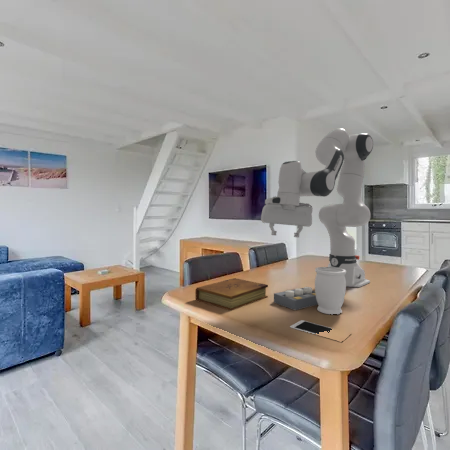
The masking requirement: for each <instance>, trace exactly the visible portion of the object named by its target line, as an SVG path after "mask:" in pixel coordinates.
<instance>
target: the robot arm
mask: <svg viewBox="0 0 450 450" xmlns="http://www.w3.org/2000/svg"><path fill="white" fill-rule="evenodd" d="M373 148H374V139H373V137H372V136H371V135H370V134H369V133H365V132H364V133H359V134H358V133H356V134H355V133H354V134H349V132H347V131H346V130H345V129H344V128H340V127H339V128H338V127H337V128H334V129H332V130H331V131H329V132H328V133H327V134H326V135H325V136H324V137H323V138H322V139H321V140H320V142H319V143H318V145H317V146H316V149H315V158H316V159H317V161H318V162H319V163H320V164H322V165H324V166H325V167H324V168H323V169H322V170H318V171H311V172H306V170H304V169H303V167H302V163H301V161H299V160H292V161H284V162H283V163H282V164H281V166H280V168H279V174H278V182H277V183H278V190H277V196H276V195H275V196H273V197H269V198H266V199H265V200H264V206H263V207H262V211H261V215H260V222H262V223H264V224H269V226H268V227H269V228H270V230H271V232H270V233H271V236H277V230H275V229H274V227H275V225H283V226H284V225H286V226H296V227H297V231H296V232H294V233H293V234H294V235H293V237H294V238H300V234H301V232H302V231H303V229H304V228H303V227H307V228H310V227H311V226H312V224H313V215H312V213H313V206H312V205H311V204H310V203H304V202H300V200H301V197H328V196H329V195H330V194H331V193H332V192H333V190H334V189H335V185H336V181H337V178H338V181H337V185H336V192H337V194H338V195H339V196H340V197H342V198H343V202H342V203H332V204H327V205H323V206H322V207H320V209H319V211H318V219H319V222H321V224H323V225H324V227H325V228H326V231H327V232H328V235H329V240H330V241H329V242H330V247H329V248H330V252H329V256H328V258H329V259H328V261H329V263H328V264H327V267H335V268H341V269H344V270H346V274H345V275H344V276H345V280H346V288H348V287H352V288H353V287H354V288H360V287H363V286H365V285H367V284H370V283H371V280H370V279H368V278H366V273H365V270H364V269H363V268H362V267H361V266H360V264H358V263H357V261H359V260H360V258H361V256H360V255H356V254H355V250H356V249H355V248H356V247H355V246H356V244H355V243H356V240H355V238H354V236H352V235H351V234H350V233H348V231H347V227H349V228H351V227H352V228H357V227H363V226H366V225H367V224H368V223H369V222H370V220H371V215H372V214H371V211H370V208H369V207H368V206H367V205H366V204H365V203H364V201H363V198H362V188H363V182H364V176H365V167H366V166H365V164H366V163H365V160H367V158H368V157H369V156H370V154H371V153H372V151H373ZM338 175H339V176H338Z"/></svg>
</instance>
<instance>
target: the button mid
mask: <svg viewBox="0 0 450 450" xmlns="http://www.w3.org/2000/svg"><path fill="white" fill-rule="evenodd" d="M294 289H295V295H298V296H301V295H303V289H299V288H294Z"/></svg>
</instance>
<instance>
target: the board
mask: <svg viewBox="0 0 450 450" xmlns="http://www.w3.org/2000/svg"><path fill="white" fill-rule="evenodd" d="M295 289H296V288H293V289H290V290H291V291H294V297H292V298H288V297H285V295H286V291H287V290H285V291H280V292H276V293H273V303H274V304H277V305H280V306H282V307H285V308H288V309H291V310H292V311H297V310H301V309H305V308H311V307H313V306H317V305H318V303H317V299H316V293H315V290H312V293H311V294H307V293H304V287H300V288H298V289H303V295H301V296H298V295H295ZM318 306H319V305H318Z"/></svg>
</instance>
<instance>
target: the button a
mask: <svg viewBox="0 0 450 450" xmlns="http://www.w3.org/2000/svg"><path fill="white" fill-rule="evenodd" d="M291 290H292V289H290V290H288V289H287V290H285V291H286V295H285V297H288V298H292V297H294V291H291Z"/></svg>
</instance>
